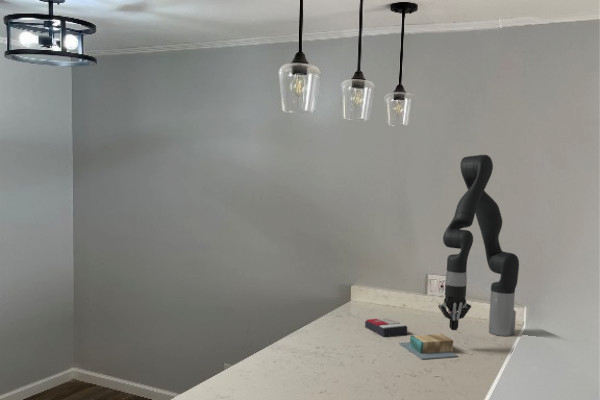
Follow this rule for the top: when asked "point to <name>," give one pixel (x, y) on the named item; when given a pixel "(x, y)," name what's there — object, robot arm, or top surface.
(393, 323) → the calculator
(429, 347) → the block
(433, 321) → the top surface
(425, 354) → the mat
